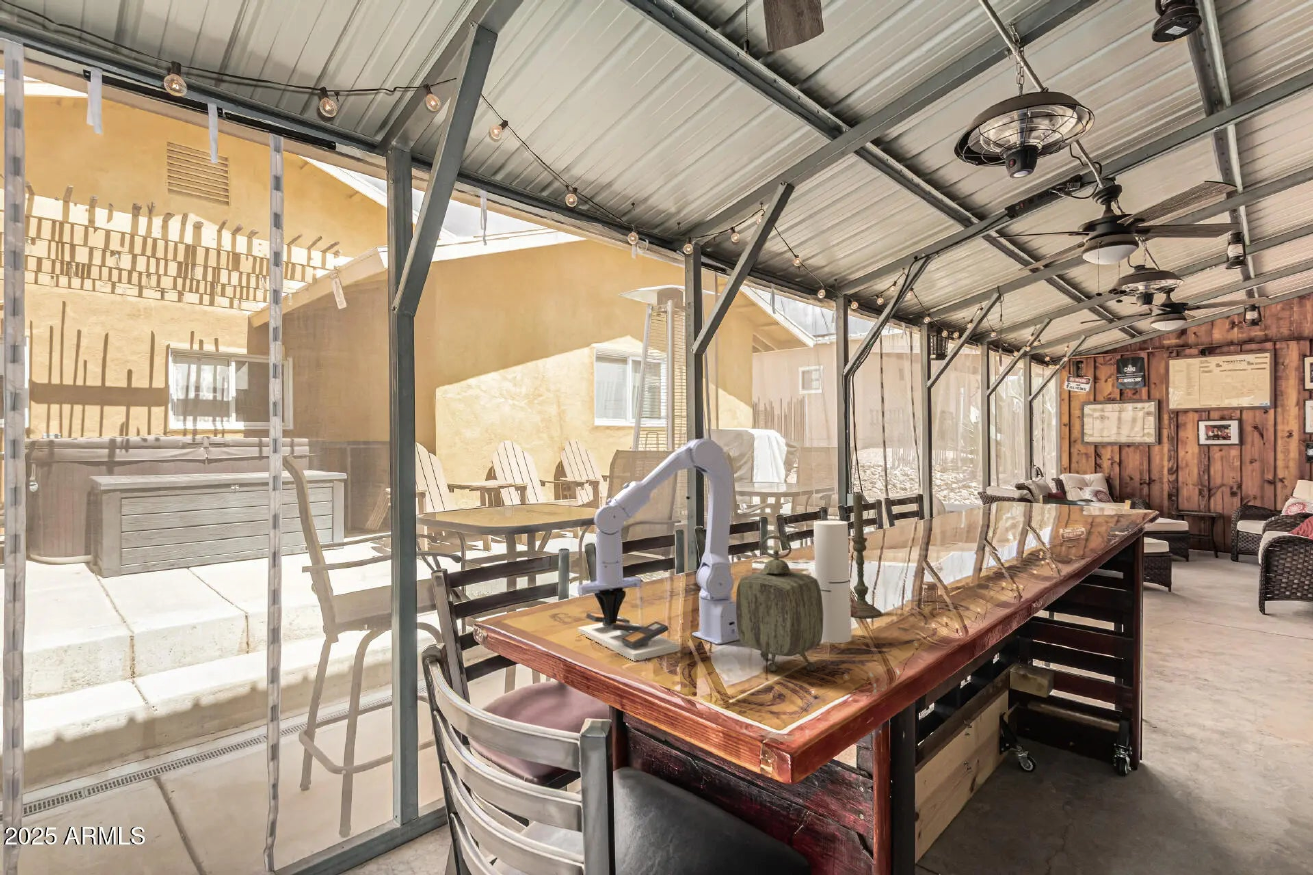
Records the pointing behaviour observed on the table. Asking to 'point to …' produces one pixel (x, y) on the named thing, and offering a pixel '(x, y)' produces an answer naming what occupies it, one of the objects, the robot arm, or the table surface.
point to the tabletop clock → (779, 610)
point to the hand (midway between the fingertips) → (610, 624)
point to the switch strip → (640, 652)
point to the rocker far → (601, 618)
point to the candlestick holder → (860, 565)
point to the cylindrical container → (833, 579)
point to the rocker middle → (624, 626)
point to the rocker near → (644, 634)
